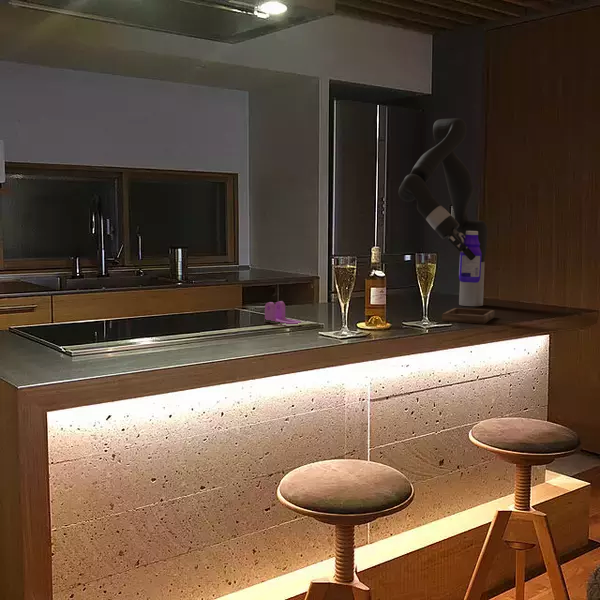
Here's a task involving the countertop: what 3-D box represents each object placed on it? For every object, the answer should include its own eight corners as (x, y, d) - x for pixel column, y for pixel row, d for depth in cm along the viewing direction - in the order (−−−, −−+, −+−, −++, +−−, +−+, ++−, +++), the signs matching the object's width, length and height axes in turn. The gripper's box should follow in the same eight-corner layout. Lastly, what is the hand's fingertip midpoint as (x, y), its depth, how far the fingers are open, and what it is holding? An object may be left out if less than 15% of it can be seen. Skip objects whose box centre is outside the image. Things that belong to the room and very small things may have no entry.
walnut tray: (454, 314, 278) (454, 307, 278) (494, 317, 272) (494, 310, 272) (442, 321, 262) (442, 313, 261) (484, 323, 256) (484, 316, 256)
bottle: (479, 281, 268) (481, 230, 266) (481, 283, 262) (483, 231, 260) (457, 281, 269) (459, 230, 267) (459, 282, 263) (461, 231, 261)
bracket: (264, 323, 254) (265, 301, 253) (277, 321, 257) (277, 300, 257) (291, 327, 244) (291, 305, 243) (304, 326, 248) (304, 304, 247)
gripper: (445, 214, 260) (479, 251, 256) (455, 214, 273) (488, 249, 269) (429, 230, 262) (462, 266, 259) (439, 229, 275) (472, 264, 272)
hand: (475, 258), depth 264 cm, fingers closed on bottle, 6 cm apart
